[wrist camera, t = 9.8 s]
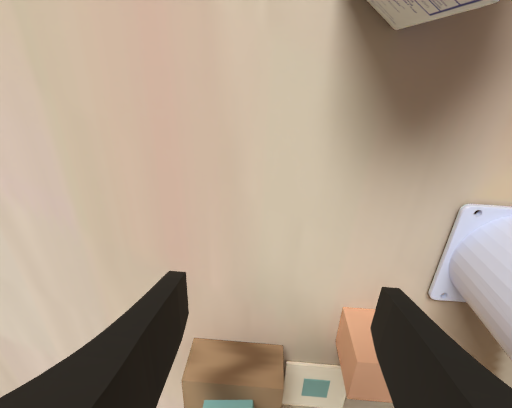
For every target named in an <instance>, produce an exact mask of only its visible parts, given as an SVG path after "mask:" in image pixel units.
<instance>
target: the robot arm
mask: <svg viewBox="0 0 512 408" xmlns="http://www.w3.org/2000/svg"><path fill="white" fill-rule="evenodd" d="M477 210H479V211H478V212H477V213H476V214H474V212H475V211H477ZM443 293H444V294H443ZM428 294H429V296H430V297H431V298H432V299H434V300H444V301H457V302H467V303H468V304H469V306H470V307H471V308H472V310H473V311H474V312H475V314H476V315H477V316H478V317H479V319H480V320H481V321H482V323H483V324H484V325H485V327H486V328H487V329H488V330H489V332H490V333H491V334H492V336H493V337H494V338H495V340H496V341H497V342H498V343H499V345H500V346H501V347H502V349H503V350H504V351H505V353H506V354H507V355H508V356H509V358H510V359H511V360H512V206H497V205H481V204H466V205H463V206H462V207H461V208H460V210H459V212H458V215H457V218H456V220H455V223H454V226H453V228H452V231H451V233H450V236H449V239H448V241H447V244H446V247H445V249H444V252H443V255H442V257H441V260H440V263H439V265H438V268H437V271H436V273H435V276H434V278H433V281H432V284H431V286H430V289H429V292H428ZM441 294H443V295H441ZM188 314H189V311H188V297H187V283H186V272H176V271H169V272H168V273H167V274H166V275H165V276H163V277H162V278H161V279H160V280H159V281H158V282H157V283H156V284H155V285H154V286H153V287H152V288H151V289H150V290H149V291H148V292H147V293H146V294H145V295H144V296H143V297H142V298H141V299H140V300H139V301H138V302H136V303H135V304H134V305H133V306H132V307H131V308H130V309H129V310H128V311H127V312H125V313H124V314H123V315H122V316H121V317H120V318H118V319H117V320H116V321H115V322H114V323H112V324H111V325H110V326H109V327H108V328H106V329H105V330H104V331H103V332H101V333H100V334H99V335H98V336H96V337H95V338H94V339H92V340H91V341H90V342H88V343H87V344H86V345H84V346H83V347H82V348H80V349H79V350H77V351H76V352H75V353H73V354H72V355H70V356H69V357H67V358H66V359H64V360H62V361H61V362H59V363H58V364H56V365H55V366H53V367H52V368H50V369H48V370H47V371H45V372H44V373H42V374H41V375H39V376H37V377H36V378H34V379H32V380H31V381H29V382H27V383H26V384H24V385H22V386H20V387H19V388H17V389H15V390H13V391H12V392H10V393H8V394H6V395H4V396H3V397H1V398H0V408H156V406H157V404H158V401H159V398H160V395H161V393H162V390H163V388H164V385H165V383H166V380H167V377H168V375H169V372H170V370H171V367H172V364H173V362H174V359H175V357H176V354H177V351H178V349H179V346H180V343H181V341H182V337H183V334H184V330H185V326H186V322H187V318H188ZM370 329H371V334H372V339H373V344H374V348H375V352H376V356H377V359H378V362H379V365H380V368H381V371H382V374H383V377H384V380H385V382H386V385H387V388H388V391H389V394H390V396H391V399H392V402H393V405H394V408H512V388H511V387H509V386H508V385H507V384H505V383H504V382H503V381H502V380H500V379H499V378H498V377H496V376H495V375H494V374H492V373H491V372H490V371H489V370H488V369H486V368H485V367H484V366H483V365H481V364H480V363H479V362H478V361H477V360H476V359H474V358H473V357H472V356H471V355H470V354H469V353H467V352H466V351H465V350H464V349H463V348H462V347H461V346H459V345H458V344H457V343H456V342H455V341H454V340H453V339H452V338H451V337H449V336H448V335H447V334H446V333H445V332H444V331H443V330H442V329H441V328H440V327H439V326H438V325H437V324H436V323H435V322H434V321H433V320H431V319H430V318H429V317H428V316H427V315H426V314H425V313H424V312H423V311H422V310H421V309H420V308H419V307H418V306H417V305H416V304H415V303H414V302H413V301H412V300H411V299H410V298H409V297H408V296H407V295H406V294H405V293H404V292H403V291H402V290H400V289H399V288H389V287H382V289H381V292H380V296H379V299H378V303H377V306H376V310H375V313H374V317H373V320H372V323H371V327H370Z"/></svg>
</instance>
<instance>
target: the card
mask: <svg viewBox="0 0 512 408" xmlns="http://www.w3.org/2000/svg"><path fill="white" fill-rule="evenodd" d="M345 397H346V390H345V385H344V380H343V376H342V371H341V366H339V365H327V364H316V363H304V362H292V361H286V369H285V377H284V392H283V399H282V404H285V405H296V406H307V407H318V408H343V404H344V401H345Z"/></svg>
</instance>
